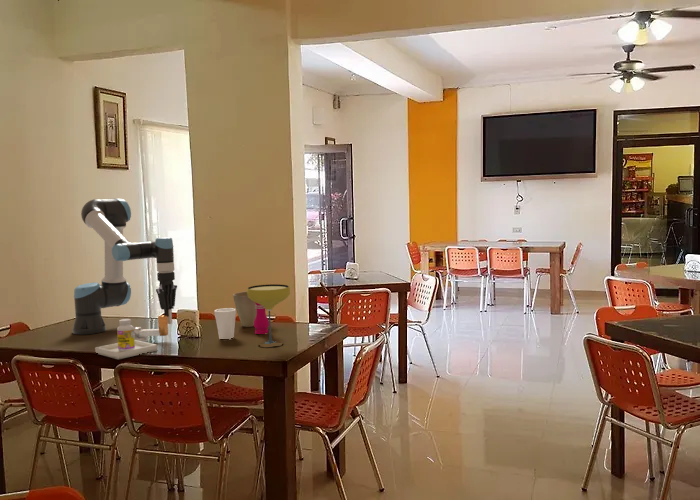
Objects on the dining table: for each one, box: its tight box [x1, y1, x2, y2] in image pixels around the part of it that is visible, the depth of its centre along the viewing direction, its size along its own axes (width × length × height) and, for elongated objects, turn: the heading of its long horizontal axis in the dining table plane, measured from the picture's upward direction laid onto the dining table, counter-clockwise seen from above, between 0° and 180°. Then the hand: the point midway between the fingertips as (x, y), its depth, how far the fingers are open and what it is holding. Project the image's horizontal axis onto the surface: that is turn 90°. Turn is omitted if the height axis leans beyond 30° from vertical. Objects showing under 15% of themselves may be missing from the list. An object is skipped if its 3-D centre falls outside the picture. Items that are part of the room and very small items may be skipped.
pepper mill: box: [253, 302, 269, 335], centre depth 305 cm, size 7×7×20 cm
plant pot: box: [232, 291, 257, 328], centre depth 326 cm, size 15×15×16 cm
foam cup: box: [214, 307, 237, 340], centre depth 297 cm, size 10×9×13 cm
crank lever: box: [133, 314, 169, 337], centre depth 294 cm, size 16×4×8 cm, turn 91°
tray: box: [94, 340, 158, 360], centre depth 276 cm, size 18×18×2 cm
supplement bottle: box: [116, 318, 135, 351], centre depth 276 cm, size 7×7×13 cm
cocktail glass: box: [246, 283, 291, 344], centre depth 281 cm, size 18×18×25 cm
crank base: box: [134, 334, 149, 343], centre depth 294 cm, size 9×9×4 cm
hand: (168, 323), depth 298 cm, fingers closed
